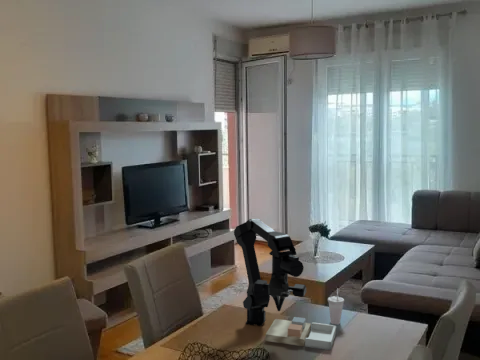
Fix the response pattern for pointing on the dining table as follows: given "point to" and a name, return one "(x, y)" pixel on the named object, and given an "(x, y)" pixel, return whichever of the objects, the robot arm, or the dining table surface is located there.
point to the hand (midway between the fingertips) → (279, 310)
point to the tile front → (295, 330)
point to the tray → (321, 336)
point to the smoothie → (335, 308)
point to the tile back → (299, 321)
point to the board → (286, 333)
